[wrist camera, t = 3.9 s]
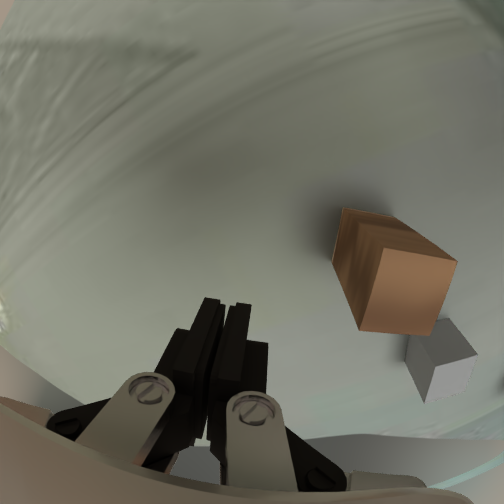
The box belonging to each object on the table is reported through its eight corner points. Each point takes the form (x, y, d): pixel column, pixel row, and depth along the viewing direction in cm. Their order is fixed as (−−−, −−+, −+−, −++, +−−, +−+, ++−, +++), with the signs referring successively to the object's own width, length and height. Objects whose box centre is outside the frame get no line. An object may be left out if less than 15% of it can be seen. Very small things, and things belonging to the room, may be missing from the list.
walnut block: (342, 207, 25) (383, 247, 14) (394, 217, 24) (457, 261, 14) (331, 261, 26) (358, 330, 16) (381, 269, 26) (429, 335, 16)
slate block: (410, 325, 28) (435, 366, 21) (448, 318, 27) (477, 354, 21) (404, 361, 29) (424, 403, 23) (441, 353, 29) (464, 391, 22)
